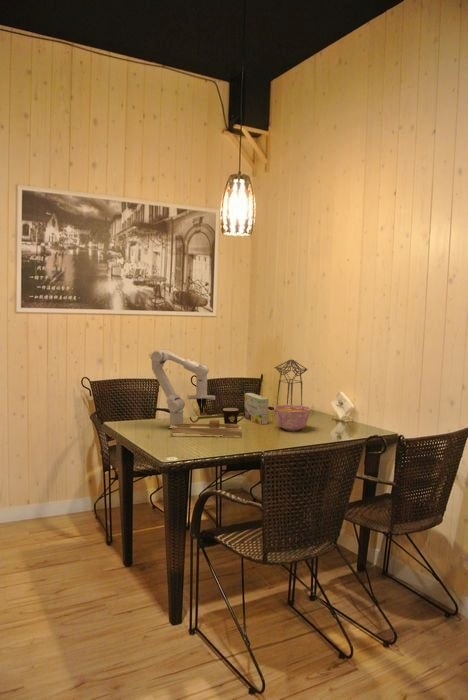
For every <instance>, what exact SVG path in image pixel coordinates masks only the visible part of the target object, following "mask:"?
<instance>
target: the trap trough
mask: <svg viewBox="0 0 468 700" xmlns="http://www.w3.org/2000/svg"><path fill="white" fill-rule="evenodd" d="M172 433H185V434H200V435H223V436H241V437H242V423H237V424H224V423H219V428H209V423H197V422H196V423H194V422H193V423H186V422H183V423H174V427H172V429H171V434H172Z"/></svg>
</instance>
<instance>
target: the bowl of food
mask: <svg viewBox="0 0 468 700" xmlns="http://www.w3.org/2000/svg"><path fill="white" fill-rule="evenodd" d="M273 410H274V415H275V420H276V423H277V424H278V426H279V427H281V428H282V429H284V430H285V431H290V432H291V431H292V432H293V431H294V432H295V431H297V432H298V431H299V430H300V429H302V428H304V427H305V426H306V425H308V421H309V417H310V413H311V408H310V407H308V406H305V405H302V406H301V405H298V404H292V405H291V404H288V405H287V404H281V405H277V406H274V407H273Z"/></svg>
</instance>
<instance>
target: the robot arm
mask: <svg viewBox="0 0 468 700" xmlns="http://www.w3.org/2000/svg"><path fill="white" fill-rule="evenodd" d="M150 360H151V370H152V373H153V374H154V375H155V378H156V380H157V381H158V383H159V385H160V387H161V389H162V391H163V393H164V395H165V396H166V403H167V409H168V410H169V426H170V425H172V426H174V423H184V410H183V409H184V408H185V406H186V403H185V400H184V399H182V398H181V396H180V394H178V393H176V391H175V389H174V387H173V385H172V383H171V382H170V380H169V378H168V376H167V374H166V372H165V370H164V368H163V367H164V365H165V363H166V362H167V361H172V362H174V363H177V364H178V365H181V366H183V369H185V370H186V371H189V372H191V373H193V374H195V376H196V381H195V382H196V384H195V385H196V387H195V388H196V391H195V392H196V393H195V394H192V395H190V394H189V395H187V399H188V400H196V404H197V407H198V409H199V413H200V414H203V413H204V408H205V405H206V402H207V401H208V400H212V401H215V400H216V395H208V373H209V367H208V366H207V365H206V364H201V363H200V362H197V361H194V359H193V358H188V359H186V358H184V357H181V356H180V355H177V354H175V353H173V352H172V351H170V350H167V349H165V348H163V349H158V350H154V351H153V352H152V354H151V356H150Z"/></svg>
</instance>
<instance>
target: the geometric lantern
mask: <svg viewBox="0 0 468 700" xmlns="http://www.w3.org/2000/svg"><path fill="white" fill-rule="evenodd" d="M281 366H282V367H281ZM301 367H302V368H301ZM274 369H276V370H277V371H278V373H279V379H278V389H277V397H276V404H275V405H276V406H279V405H278V404H279V395H280V387H281V382H282V383H285V384H287V394H286V397H287V398H286V405H289V396H290V405H293V392H294V391H293V387H294V384H298V383H299V384H300V397H301V398H300V403H301V404H300V406H303V380H302V374H304V373H306V371H308V368H307V367H305V366H304V365H302V364H300V363H298V362H297V361H296V360H294V359H287V360H286V361H284V362H283V363H281V364H278V365H277V366H274ZM291 369H292V370H291ZM289 372H293V373H294V374H295V375H294V376H293V377H292V378H290V376H289V374H288V373H289ZM286 375H287V377H286ZM282 376H284V378H285V381H284V380H283V379H281V378H282ZM298 376H299V378H300V380H297V379H296V377H298ZM287 378H288V379H287ZM294 381H295V382H294ZM276 406H275V407H276Z"/></svg>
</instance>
